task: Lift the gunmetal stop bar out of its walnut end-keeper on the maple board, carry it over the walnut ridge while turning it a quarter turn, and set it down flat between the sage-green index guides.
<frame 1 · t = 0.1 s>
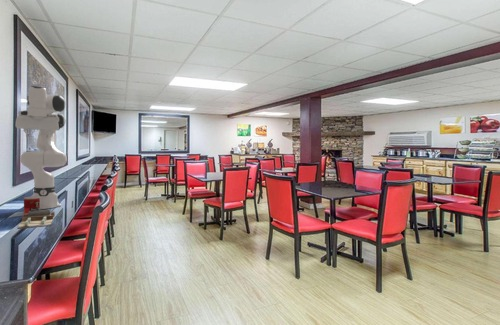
hand: (37, 137, 163), 48 cm above the counter, fingers open, 8 cm apart
lock board: (37, 222, 156), on the counter
stop bar: (39, 217, 161), point 1 cm above the counter, touching lock board
canned food: (31, 215, 171), on the counter
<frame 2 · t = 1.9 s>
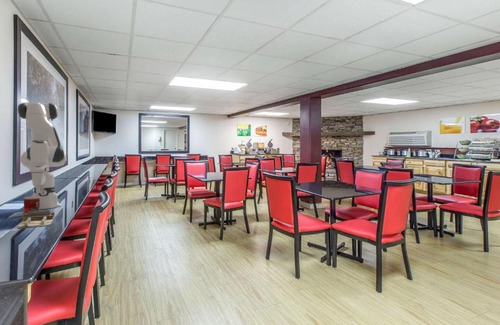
hand: (39, 191, 160), 16 cm above the counter, fingers open, 8 cm apart
nothing on the counter moved.
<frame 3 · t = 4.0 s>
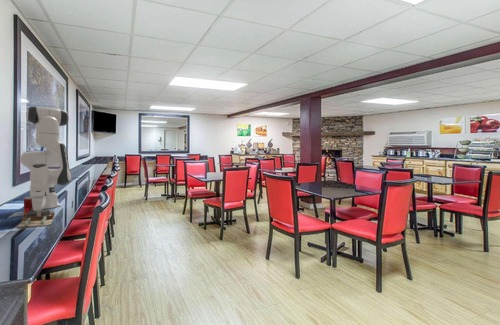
hand: (39, 215, 161), 2 cm above the counter, fingers closed on stop bar, 3 cm apart
stop bar: (39, 217, 161), point 1 cm above the counter, touching gripper, lock board
everything else where it was.
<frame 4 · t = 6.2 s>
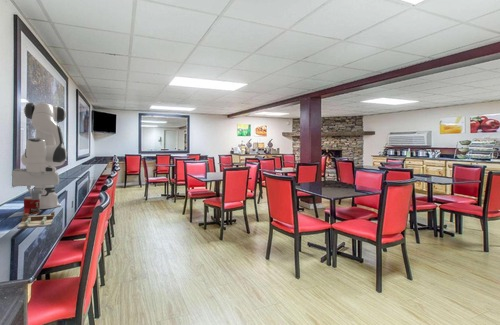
hand: (36, 193, 150), 17 cm above the counter, fingers closed on stop bar, 3 cm apart
stop bar: (37, 197, 150), point 15 cm above the counter, tilted 6°, touching gripper
everything else where it was.
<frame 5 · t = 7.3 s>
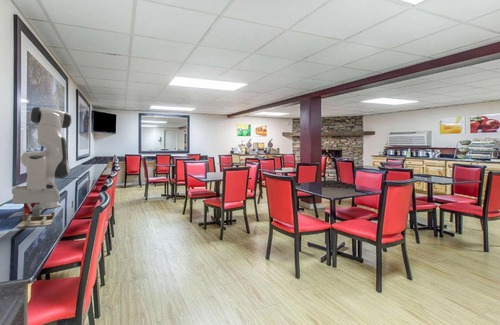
hand: (37, 210, 150), 8 cm above the counter, fingers closed on stop bar, 3 cm apart
stop bar: (37, 214, 150), point 6 cm above the counter, tilted 6°, touching gripper
everything else where it was.
when the fingers open (4 cm above the counter, at t = 8.3 s): stop bar stays where it is, resting on lock board.
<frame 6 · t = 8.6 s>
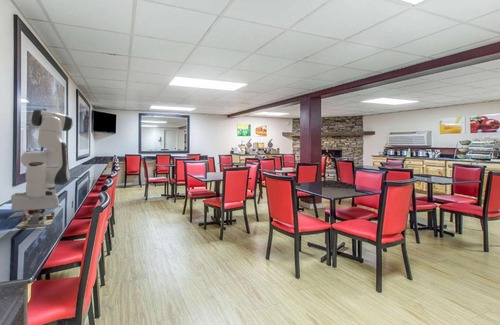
hand: (36, 217, 150), 4 cm above the counter, fingers open, 5 cm apart
stop bar: (36, 222, 151), point 1 cm above the counter, touching lock board
everything else where it was.
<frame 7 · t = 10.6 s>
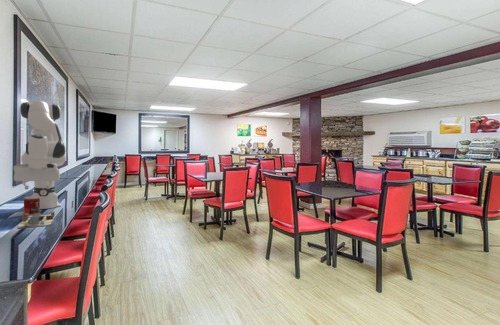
hand: (37, 188, 154), 19 cm above the counter, fingers open, 8 cm apart
nothing on the counter moved.
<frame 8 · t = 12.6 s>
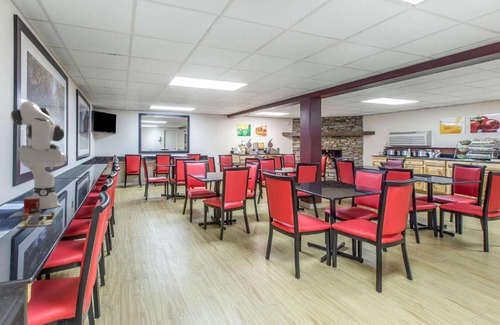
hand: (41, 169, 162), 29 cm above the counter, fingers open, 8 cm apart
nothing on the counter moved.
at the end: stop bar 0.8 cm from the target spot on the lock board, point 1.2 cm above the lock board's base; stop bar tilted 0°; the gripper is holding nothing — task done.
